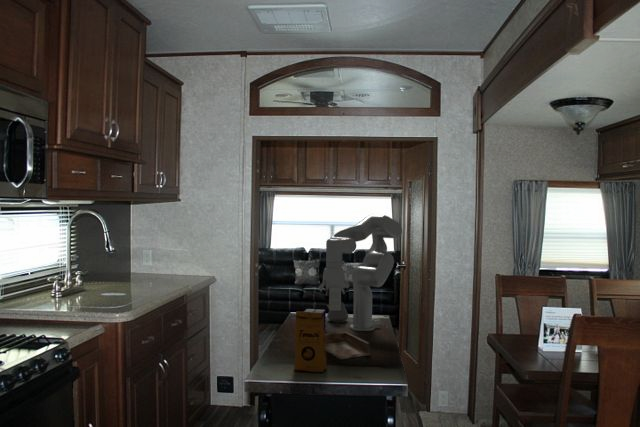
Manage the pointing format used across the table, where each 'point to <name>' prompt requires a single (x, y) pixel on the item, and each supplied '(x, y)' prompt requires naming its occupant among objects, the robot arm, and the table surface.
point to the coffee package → (310, 342)
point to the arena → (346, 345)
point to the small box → (334, 298)
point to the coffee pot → (336, 312)
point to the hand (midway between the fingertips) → (334, 302)
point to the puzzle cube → (319, 312)
